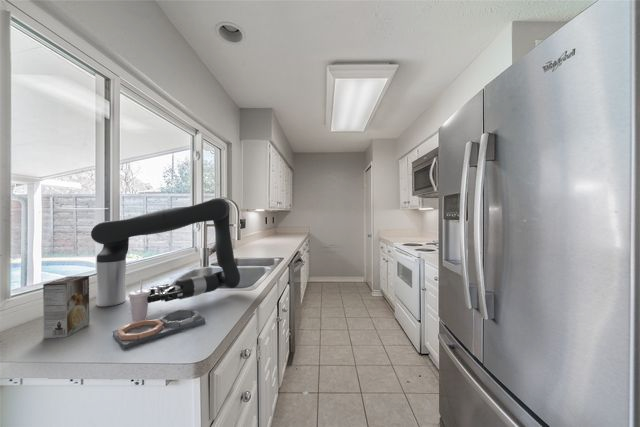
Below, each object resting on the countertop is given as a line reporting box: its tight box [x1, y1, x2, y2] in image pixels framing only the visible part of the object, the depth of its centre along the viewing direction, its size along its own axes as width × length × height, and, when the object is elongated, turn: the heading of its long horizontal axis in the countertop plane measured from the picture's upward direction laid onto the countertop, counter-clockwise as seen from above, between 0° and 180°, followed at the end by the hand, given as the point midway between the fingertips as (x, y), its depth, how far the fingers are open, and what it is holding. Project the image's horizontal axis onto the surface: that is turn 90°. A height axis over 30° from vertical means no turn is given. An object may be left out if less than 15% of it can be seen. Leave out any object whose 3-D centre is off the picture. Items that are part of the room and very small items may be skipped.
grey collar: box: [160, 309, 200, 326], centre depth 85 cm, size 10×10×1 cm
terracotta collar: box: [117, 318, 163, 340], centre depth 77 cm, size 10×10×1 cm
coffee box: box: [42, 275, 90, 339], centre depth 80 cm, size 9×6×16 cm
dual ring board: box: [112, 314, 206, 351], centre depth 81 cm, size 12×22×2 cm, turn 140°
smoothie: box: [127, 278, 151, 323], centre depth 88 cm, size 6×6×14 cm
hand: (143, 297), depth 89 cm, fingers open, 8 cm apart
